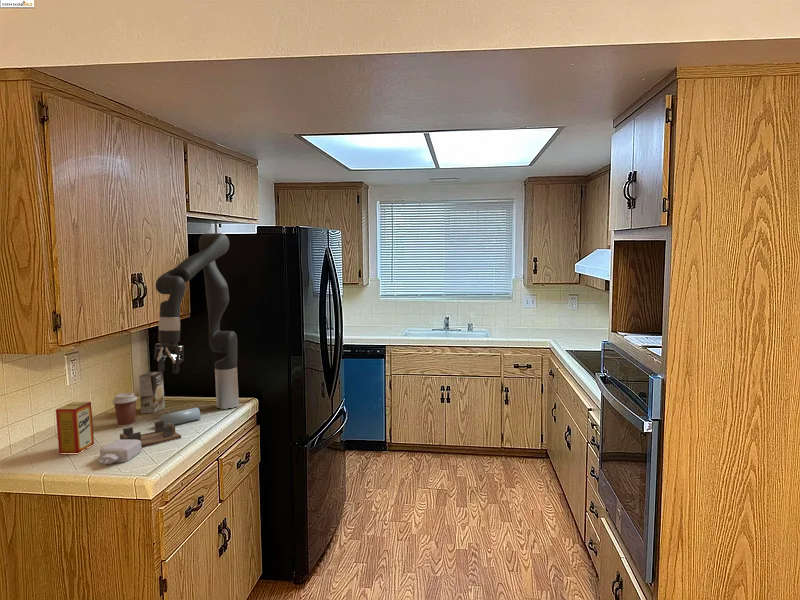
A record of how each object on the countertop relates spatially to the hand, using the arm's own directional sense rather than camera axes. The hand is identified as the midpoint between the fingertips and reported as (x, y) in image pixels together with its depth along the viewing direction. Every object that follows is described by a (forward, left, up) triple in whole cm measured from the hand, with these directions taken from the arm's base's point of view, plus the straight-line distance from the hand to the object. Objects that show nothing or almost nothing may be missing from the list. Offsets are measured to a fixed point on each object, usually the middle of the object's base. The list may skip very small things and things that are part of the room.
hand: (168, 372), depth 215 cm
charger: (+17, -25, -23) cm, 38 cm away
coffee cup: (-22, -9, -23) cm, 33 cm away
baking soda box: (-4, -31, -23) cm, 39 cm away
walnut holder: (+5, -10, -23) cm, 25 cm away
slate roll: (-8, +7, -23) cm, 25 cm away
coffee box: (-35, +6, -23) cm, 43 cm away
